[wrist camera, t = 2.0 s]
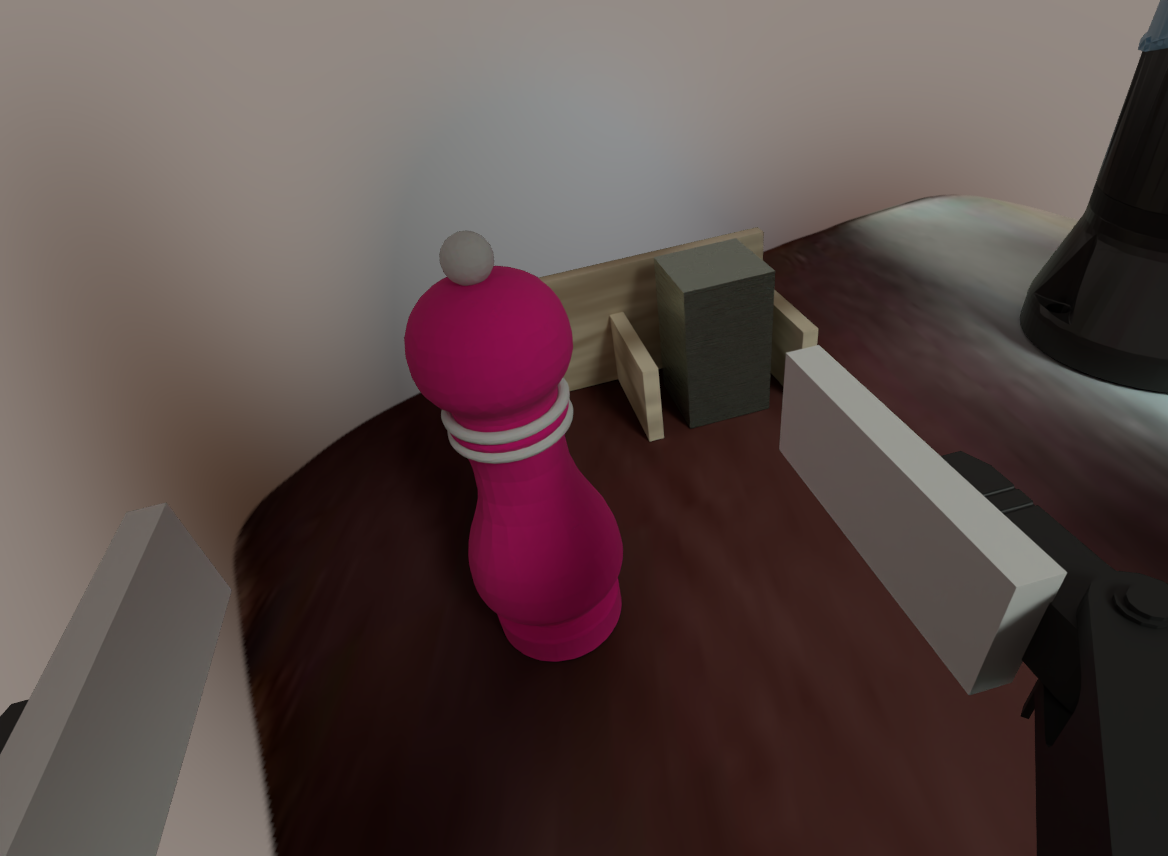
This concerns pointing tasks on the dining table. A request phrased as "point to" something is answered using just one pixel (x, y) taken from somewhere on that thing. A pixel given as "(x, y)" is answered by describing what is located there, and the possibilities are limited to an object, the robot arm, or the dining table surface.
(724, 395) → the tea tin
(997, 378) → the dining table surface
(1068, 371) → the dining table surface
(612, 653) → the dining table surface
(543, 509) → the pepper mill
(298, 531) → the dining table surface
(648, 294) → the spice rack
